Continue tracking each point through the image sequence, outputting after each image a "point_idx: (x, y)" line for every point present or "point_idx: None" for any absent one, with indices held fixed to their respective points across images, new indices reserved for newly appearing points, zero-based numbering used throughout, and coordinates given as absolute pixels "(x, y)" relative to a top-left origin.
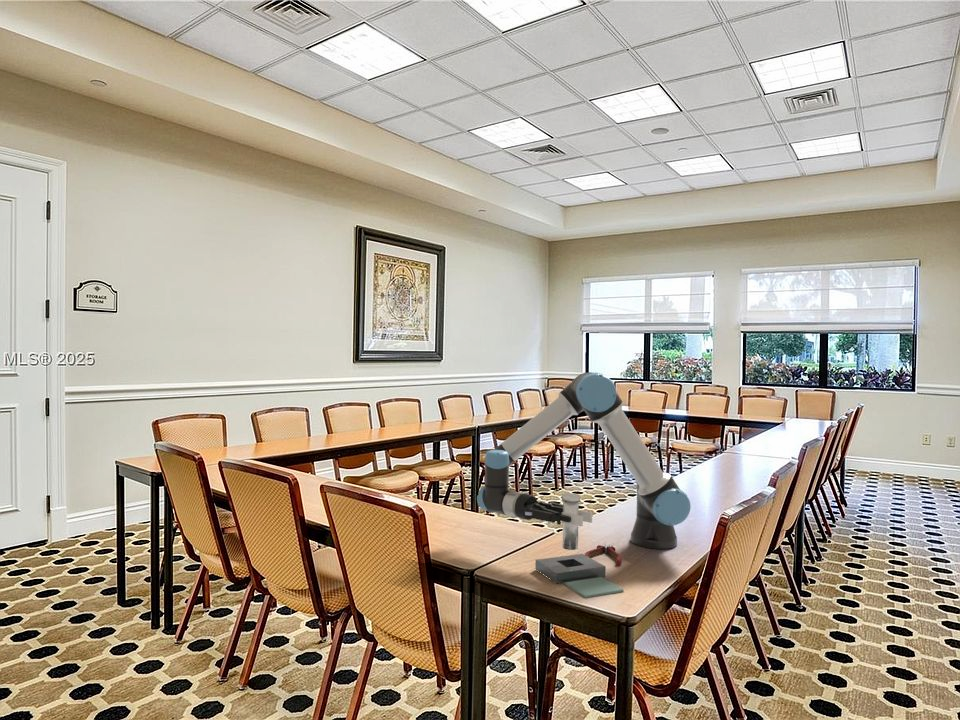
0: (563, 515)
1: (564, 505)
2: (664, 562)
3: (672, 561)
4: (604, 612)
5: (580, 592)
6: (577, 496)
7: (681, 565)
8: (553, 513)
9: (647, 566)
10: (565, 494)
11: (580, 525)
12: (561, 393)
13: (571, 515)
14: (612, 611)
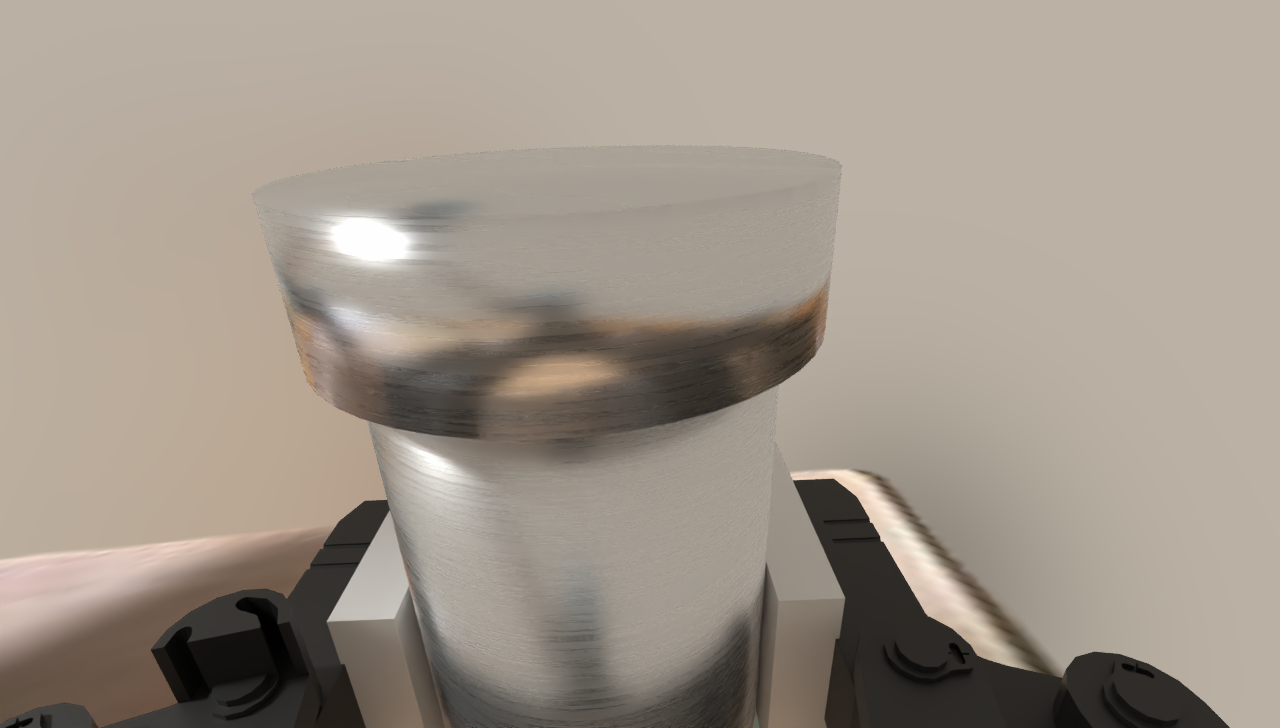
0: (845, 584)
1: (774, 438)
2: (34, 648)
3: (6, 628)
4: (923, 524)
5: None
6: (574, 149)
7: (95, 575)
8: (1143, 679)
9: (152, 678)
10: (567, 189)
11: None
12: None
13: (777, 456)
14: (883, 514)
